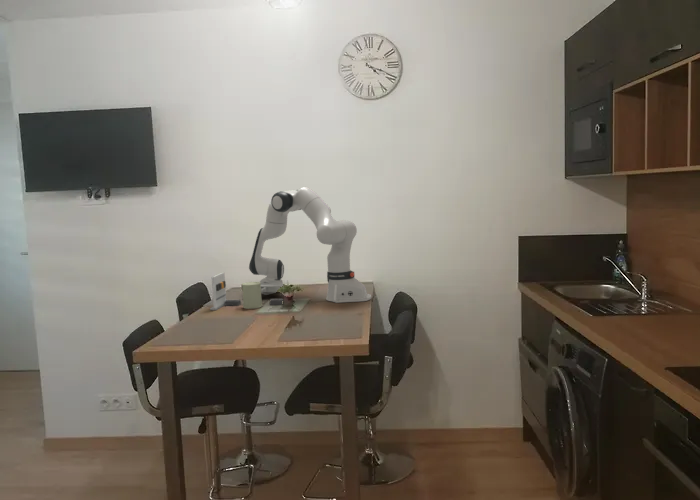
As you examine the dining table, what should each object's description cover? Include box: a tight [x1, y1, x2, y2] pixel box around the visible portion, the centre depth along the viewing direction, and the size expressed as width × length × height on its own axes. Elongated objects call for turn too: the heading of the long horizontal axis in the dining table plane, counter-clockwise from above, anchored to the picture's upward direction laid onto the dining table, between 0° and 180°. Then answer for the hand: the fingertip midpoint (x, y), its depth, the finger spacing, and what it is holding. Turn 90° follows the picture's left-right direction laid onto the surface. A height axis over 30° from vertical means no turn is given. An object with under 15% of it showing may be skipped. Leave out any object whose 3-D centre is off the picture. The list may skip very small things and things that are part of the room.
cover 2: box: [269, 298, 284, 306], centre depth 286 cm, size 6×3×3 cm, turn 82°
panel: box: [209, 272, 227, 311], centre depth 286 cm, size 4×14×16 cm, turn 172°
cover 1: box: [224, 299, 242, 307], centre depth 290 cm, size 7×3×3 cm, turn 82°
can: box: [241, 281, 263, 310], centre depth 283 cm, size 9×9×12 cm
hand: (259, 291), depth 296 cm, fingers closed
